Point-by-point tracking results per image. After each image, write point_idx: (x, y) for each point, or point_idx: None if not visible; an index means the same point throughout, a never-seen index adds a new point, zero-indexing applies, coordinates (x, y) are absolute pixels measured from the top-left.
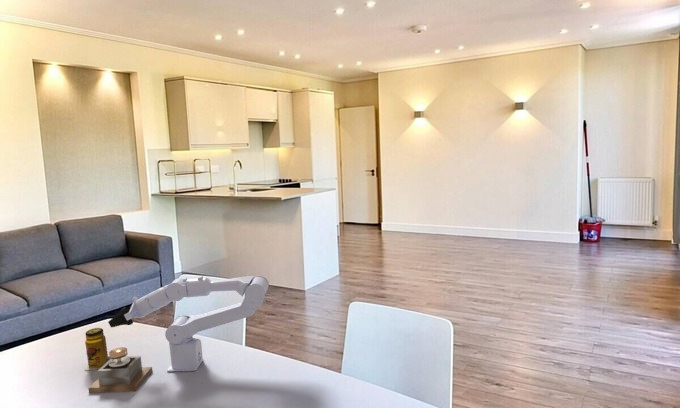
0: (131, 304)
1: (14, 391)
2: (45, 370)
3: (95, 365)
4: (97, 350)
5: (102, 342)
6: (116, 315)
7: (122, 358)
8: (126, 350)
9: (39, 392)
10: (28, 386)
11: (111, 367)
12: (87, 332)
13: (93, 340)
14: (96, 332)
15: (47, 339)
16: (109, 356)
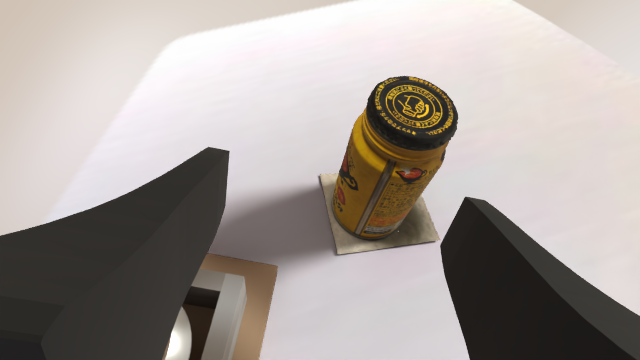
0: (584, 321)
1: (232, 39)
2: (350, 70)
3: (333, 200)
4: (350, 178)
5: (378, 180)
6: (108, 202)
7: (170, 354)
8: None
9: (197, 92)
10: (252, 59)
11: (187, 294)
12: (393, 82)
13: (362, 135)
14: (386, 121)
15: (550, 27)
16: (430, 227)
